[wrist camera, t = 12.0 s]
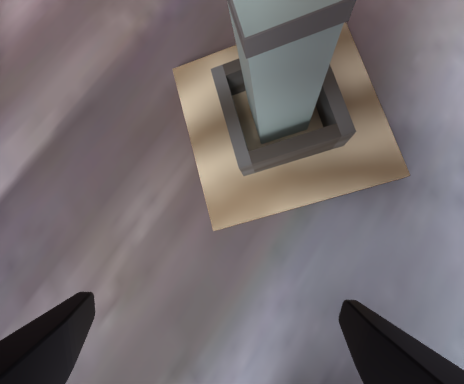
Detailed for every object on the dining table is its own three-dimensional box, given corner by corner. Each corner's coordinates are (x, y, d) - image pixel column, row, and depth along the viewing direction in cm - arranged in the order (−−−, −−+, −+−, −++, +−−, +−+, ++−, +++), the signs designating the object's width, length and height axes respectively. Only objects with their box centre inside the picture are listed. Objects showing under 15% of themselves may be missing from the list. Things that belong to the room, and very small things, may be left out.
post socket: (403, 177, 19) (436, 165, 15) (216, 230, 21) (203, 231, 17) (336, 15, 22) (349, -30, 18) (176, 75, 24) (157, 46, 20)
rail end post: (308, 129, 20) (356, -3, 8) (260, 145, 21) (243, 40, 9) (293, 86, 21) (317, -91, 9) (247, 102, 21) (214, -46, 10)
